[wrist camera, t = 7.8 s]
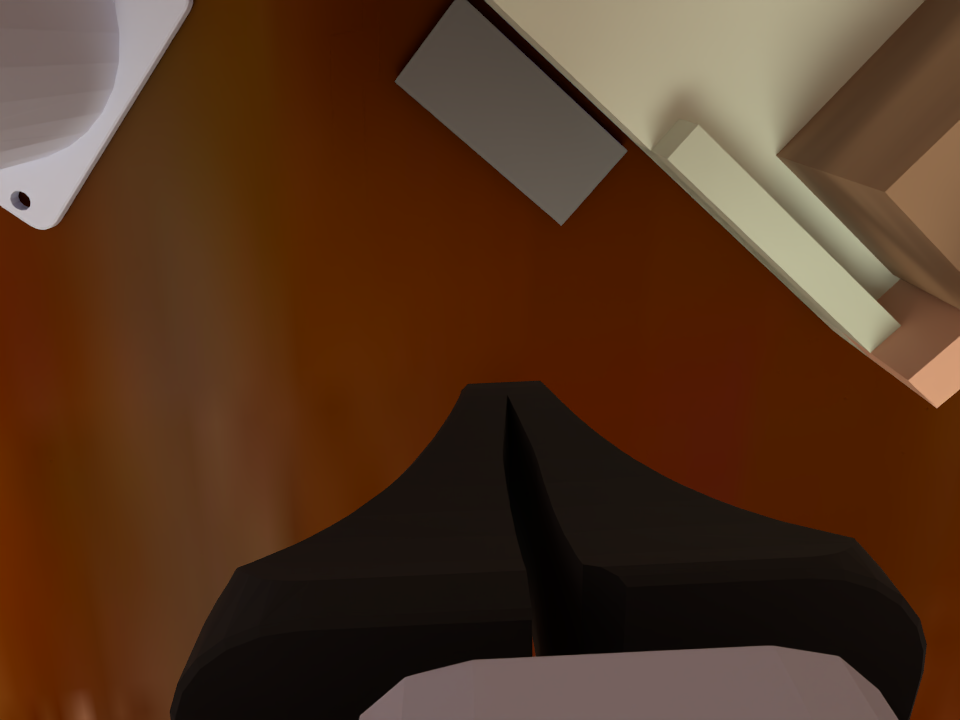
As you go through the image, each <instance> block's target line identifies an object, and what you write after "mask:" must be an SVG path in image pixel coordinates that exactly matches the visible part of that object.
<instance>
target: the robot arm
mask: <svg viewBox="0 0 960 720" xmlns="http://www.w3.org/2000/svg"><path fill="white" fill-rule="evenodd" d="M192 5H193V0H0V206H2V207H3V208H5V209H6V210H8V211H9V212H10V213H12V214H13V215H15V216H16V217H18V218H19V219H21V220H22V221H24V222H25V223H27V224H28V225H30V226H32V227H34V228H36V229H42V230H45V229H48V228H51V227H54V226H56V225H57V224H58V223H59V222H60V221H61V220H62V218H63V217H64V215H65V213H66V212H67V210H68V209H69V207H70V205H71V204H72V202H73V200H74V199H75V197H76V196H77V194H78V192H79V191H80V189H81V187H82V186H83V184H84V183H85V181H86V179H87V178H88V176H89V174H90V173H91V171H92V170H93V168H94V166H95V165H96V163H97V161H98V160H99V158H100V157H101V155H102V153H103V152H104V150H105V148H106V147H107V145H108V144H109V142H110V140H111V139H112V137H113V135H114V134H115V132H116V131H117V129H118V127H119V126H120V124H121V123H122V121H123V119H124V118H125V116H126V114H127V113H128V111H129V110H130V108H131V106H132V105H133V103H134V101H135V100H136V98H137V97H138V95H139V93H140V92H141V90H142V88H143V87H144V85H145V84H146V82H147V80H148V79H149V77H150V75H151V74H152V72H153V71H154V69H155V67H156V66H157V64H158V62H159V61H160V59H161V58H162V56H163V54H164V53H165V51H166V49H167V48H168V46H169V45H170V43H171V41H172V40H173V38H174V36H175V35H176V33H177V32H178V30H179V28H180V27H181V25H182V23H183V22H184V20H185V19H186V17H187V15H188V14H189V12H190V10H191V8H192ZM20 191H21V192H23V193H25V194H26V195H27V196H28V197H29V199H30V202H31V204H30V207H27V206H24V205H23V204H22V203H21V202H20V200H19V197H18V195H19V192H20ZM532 637H533V642H534V647H535V653H536V657H532ZM926 645H927V644H926V640H925V637H924V633H923V629H922V625H921V621H920V618H919V617H918V616H917V614H916V613H915V612H914V610H913V609H912V608H911V606H910V605H909V604H908V602H907V601H906V600H905V598H904V597H903V596H902V595H901V593H900V592H899V591H898V589H897V588H896V587H895V586H894V584H893V583H892V582H891V580H890V579H889V578H888V577H887V575H886V574H885V573H884V571H883V570H882V569H881V568H880V567H879V565H878V564H877V563H876V562H875V561H874V560H873V559H872V558H871V556H870V555H869V554H868V553H867V552H866V551H865V550H864V548H863V547H862V546H861V545H860V544H859V543H858V542H857V541H856V540H855V539H854V538H850V537H846V536H842V535H837V534H833V533H829V532H825V531H820V530H816V529H812V528H807V527H803V526H799V525H795V524H790V523H786V522H782V521H779V520H775V519H772V518H769V517H766V516H762V515H759V514H756V513H753V512H750V511H747V510H744V509H740V508H737V507H735V506H732V505H729V504H727V503H724V502H721V501H719V500H716V499H713V498H711V497H709V496H706V495H704V494H702V493H699V492H697V491H695V490H692V489H690V488H688V487H686V486H683V485H681V484H679V483H677V482H675V481H673V480H671V479H669V478H667V477H665V476H663V475H661V474H659V473H658V472H656V471H654V470H652V469H651V468H649V467H647V466H645V465H644V464H642V463H640V462H638V461H636V460H635V459H633V458H632V457H630V456H629V455H627V454H625V453H624V452H622V451H621V450H620V449H618V448H617V447H615V446H614V445H613V444H611V443H610V442H609V441H607V440H606V439H604V438H603V437H602V436H600V435H599V434H598V433H596V432H595V431H594V430H593V429H591V428H590V427H589V426H588V425H587V424H585V423H584V422H583V421H582V420H581V419H580V418H578V417H577V416H576V415H575V414H574V413H573V412H572V411H571V410H570V409H569V408H568V407H567V406H565V405H564V404H563V403H562V402H561V401H560V400H559V399H558V398H557V397H556V396H555V395H554V394H553V393H552V392H551V391H550V390H549V389H548V388H547V387H546V386H545V385H544V384H543V383H542V382H541V381H525V382H503V383H480V384H468V385H467V386H466V387H465V388H464V389H463V390H462V391H461V394H460V396H459V399H458V401H457V403H456V404H455V406H454V408H453V410H452V411H451V413H450V415H449V416H448V418H447V419H446V421H445V422H444V424H443V425H442V427H441V428H440V430H439V431H438V433H437V434H436V436H435V437H434V438H433V440H432V441H431V442H430V443H429V444H428V446H427V447H426V448H425V449H424V450H423V452H422V453H421V454H420V455H419V456H418V458H417V459H416V460H415V461H414V462H413V463H412V465H411V466H410V467H409V468H408V469H407V470H406V471H405V472H404V473H403V474H402V475H401V476H400V477H399V478H398V479H397V480H396V481H394V482H393V483H392V484H391V485H390V486H389V487H388V488H386V489H385V490H384V491H382V492H381V493H380V494H378V495H377V496H376V497H374V498H373V499H371V500H370V501H369V502H367V503H366V504H364V505H363V506H362V507H360V508H359V509H357V510H356V511H355V512H353V513H352V514H350V515H349V516H347V517H345V518H344V519H342V520H340V521H339V522H337V523H335V524H333V525H332V526H330V527H328V528H326V529H325V530H323V531H321V532H319V533H317V534H315V535H313V536H311V537H309V538H307V539H305V540H303V541H301V542H299V543H297V544H295V545H293V546H290V547H288V548H285V549H283V550H281V551H278V552H276V553H273V554H271V555H269V556H266V557H264V558H261V559H259V560H257V561H254V562H252V563H249V564H246V565H244V566H241V567H238V568H237V569H236V570H235V572H234V574H233V576H232V577H231V579H230V581H229V583H228V584H227V586H226V588H225V589H224V591H223V592H222V594H221V595H220V597H219V598H218V600H217V602H216V603H215V605H214V607H213V609H212V611H211V612H210V614H209V616H208V618H207V620H206V622H205V623H204V626H203V628H202V630H201V632H200V634H199V637H198V639H197V641H196V643H195V646H194V648H193V650H192V652H191V655H190V657H189V659H188V661H187V664H186V666H185V668H184V670H183V673H182V675H181V677H180V679H179V682H178V684H177V687H176V691H175V695H174V698H173V702H172V705H171V709H170V717H171V720H909V719H910V716H911V713H912V709H913V706H914V702H915V699H916V695H917V692H918V689H919V685H920V682H921V678H922V675H923V671H924V663H925V654H926Z"/></svg>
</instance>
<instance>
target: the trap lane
mask: <svg viewBox="0 0 960 720" xmlns="http://www.w3.org/2000/svg"><path fill="white" fill-rule="evenodd" d="M484 1H485V2H486V3H487V4H488V5H489V6H490V7H492V8H493V9H494V10H495V11H496V12H497V13H498V14H499V15H500V16H501V17H502V18H503V19H504V20H505V21H506V22H507V23H508V24H509V25H511V26H512V27H513V28H514V29H515V30H516V31H517V32H518V33H519V34H520V35H521V36H522V37H523V38H524V39H525V40H526V41H527V42H529V43H530V44H531V45H532V46H533V47H534V48H535V49H536V50H537V51H538V52H539V53H540V54H541V55H542V56H543V57H544V58H545V59H547V60H548V61H549V62H550V63H551V64H552V65H553V66H554V67H555V68H556V69H557V70H558V71H559V72H560V73H561V74H562V75H563V76H564V77H566V78H567V79H568V80H569V81H570V82H571V83H572V84H573V85H574V86H575V87H576V88H577V89H578V90H579V91H580V92H581V93H582V94H584V95H585V96H586V97H587V98H588V99H589V100H590V101H591V102H592V103H593V104H594V105H595V106H596V107H597V108H598V109H599V110H600V111H602V112H603V113H604V114H605V115H606V116H607V117H608V118H609V119H610V120H611V121H612V122H613V123H614V124H615V125H616V126H617V127H618V128H619V129H621V130H622V131H623V132H624V133H625V134H626V135H627V136H628V137H629V138H630V139H631V140H632V141H633V142H634V143H635V144H636V145H637V146H639V147H640V148H641V149H642V150H643V151H644V152H645V153H646V154H647V155H648V156H649V157H650V158H651V159H652V160H653V161H654V162H655V163H657V164H658V165H659V166H660V167H661V168H662V169H663V170H664V171H665V172H666V173H667V174H668V175H669V176H670V177H671V178H672V179H673V180H674V181H676V182H677V183H678V184H679V185H680V186H681V187H682V188H683V189H684V190H685V191H686V192H687V193H688V194H689V195H690V196H691V197H692V198H694V199H695V200H696V201H697V202H698V203H699V204H700V205H701V206H702V207H703V208H704V209H705V210H706V211H707V212H708V213H709V214H710V215H712V216H713V217H714V218H715V219H716V220H717V221H718V222H719V223H720V224H721V225H722V226H723V227H724V228H725V229H726V230H727V231H728V232H729V233H731V234H732V235H733V236H734V237H735V238H736V239H737V240H738V241H739V242H740V243H741V244H742V245H743V246H744V247H745V248H746V249H747V250H749V251H750V252H751V253H752V254H753V255H754V256H755V257H756V258H757V259H758V260H759V261H760V262H761V263H762V264H763V265H764V266H765V267H767V268H768V269H769V270H770V271H771V272H772V273H773V274H774V275H775V276H776V277H777V278H778V279H779V280H780V281H781V282H782V283H783V284H784V285H786V286H787V287H788V288H789V289H790V290H791V291H792V292H793V293H794V294H795V295H796V296H797V297H798V298H799V299H800V300H801V301H802V302H804V303H805V304H806V305H807V306H808V307H809V308H810V309H811V310H812V311H813V312H814V313H815V314H816V315H817V316H818V317H819V318H820V319H822V320H823V321H824V322H825V323H826V324H827V325H828V326H829V327H830V328H831V329H832V330H833V331H834V332H836V333H837V334H838V335H840V336H841V337H842V338H844V339H845V340H846V341H848V342H849V343H850V344H852V345H853V346H854V347H856V348H857V349H858V350H860V351H861V352H862V353H864V354H865V355H866V356H868V357H869V358H870V359H872V360H873V361H874V362H876V363H877V364H878V365H880V366H881V367H882V368H884V369H885V370H886V371H888V372H889V373H890V374H892V375H893V376H894V377H896V378H897V379H898V380H900V381H901V382H902V383H904V384H905V385H907V386H908V387H909V388H911V389H912V390H913V391H915V392H916V393H917V394H919V395H920V396H921V397H923V398H924V399H925V400H927V401H928V402H929V403H931V404H932V405H933V406H935V407H936V408H938V407H939V406H940V405H941V404H942V403H944V402H945V401H946V400H947V399H948V398H950V397H951V396H952V395H953V394H954V393H956V392H957V391H958V390H959V389H960V309H958V308H956V307H954V306H952V305H950V304H948V303H946V302H944V301H942V300H940V299H938V298H937V297H935V296H933V295H931V294H929V293H927V292H925V291H923V290H921V289H919V288H917V287H915V286H913V285H911V284H910V283H908V282H906V281H904V280H902V279H900V278H898V277H896V276H894V275H893V274H892V273H891V272H890V271H889V270H888V269H887V268H886V267H885V266H884V265H883V264H882V263H881V262H880V261H879V260H878V259H877V258H876V257H875V256H874V255H873V254H872V253H871V252H870V251H869V250H868V249H867V248H866V247H865V246H864V245H863V244H862V243H861V242H860V241H859V240H858V238H857V237H856V236H855V235H854V234H853V233H852V232H851V231H850V230H849V229H848V228H847V227H846V226H845V225H844V224H843V223H842V222H841V221H840V220H839V219H838V218H837V217H836V216H835V215H834V214H833V213H832V212H831V211H830V210H829V209H828V208H827V207H826V206H825V205H824V204H823V203H822V202H821V201H820V200H819V199H818V198H817V197H816V196H815V195H814V194H813V193H812V192H811V191H810V190H809V189H808V188H807V187H806V186H805V185H804V184H803V183H802V181H801V180H800V179H799V178H798V177H797V176H796V175H795V174H794V173H793V172H792V171H791V170H790V169H789V168H788V167H787V166H786V165H785V164H784V163H783V162H782V161H781V160H780V159H779V158H778V157H777V156H776V155H777V154H778V153H779V152H780V151H781V150H782V149H783V148H784V147H785V146H786V144H787V143H788V142H789V141H790V140H791V139H792V138H793V137H794V136H795V135H796V134H797V133H798V132H799V131H800V130H801V129H802V128H803V127H804V126H805V125H806V124H807V123H808V122H809V121H810V120H811V118H812V117H813V116H814V115H815V114H816V113H817V112H818V111H819V110H820V109H821V108H822V107H823V106H824V105H825V104H826V103H827V102H828V101H829V100H830V99H831V98H832V97H833V96H834V95H835V94H836V92H837V91H838V90H839V89H840V88H841V87H842V86H843V85H844V84H845V83H846V82H847V81H848V80H849V79H850V78H851V77H852V76H853V75H854V74H855V73H856V72H857V71H858V70H859V69H860V68H861V67H862V65H863V64H864V63H865V62H866V61H867V60H868V59H869V58H870V57H871V56H872V55H873V54H874V53H875V52H876V51H877V50H878V49H879V48H880V47H881V46H882V45H883V44H884V43H885V42H886V41H887V39H888V38H889V37H890V36H891V35H892V34H893V33H894V32H895V31H896V30H897V29H898V28H899V27H900V26H901V25H902V24H903V23H904V22H905V21H906V20H907V19H908V18H909V17H910V16H911V15H912V13H913V12H914V11H915V10H916V9H917V8H918V7H919V6H920V5H921V4H922V3H923V2H924V1H925V0H484Z"/></svg>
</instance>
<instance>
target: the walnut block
mask: <svg viewBox="0 0 960 720" xmlns="http://www.w3.org/2000/svg"><path fill="white" fill-rule="evenodd" d="M776 156H777V157H778V158H779V159H780V160H781V161H782V162H783V163H784V164H785V165H786V166H787V167H788V168H789V169H790V170H791V171H792V172H793V173H794V174H795V175H796V176H797V177H798V178H799V179H800V180H801V181H802V183H803V184H804V185H805V186H806V187H807V188H808V189H809V190H810V191H811V192H812V193H813V194H814V195H815V196H816V197H817V198H818V199H819V200H820V201H821V202H822V203H823V204H824V205H825V206H826V207H827V208H828V209H829V210H830V211H831V212H832V213H833V214H834V215H835V216H836V217H837V218H838V219H839V220H840V221H841V222H842V223H843V224H844V225H845V226H846V227H847V228H848V229H849V230H850V231H851V232H852V233H853V234H854V235H855V236H856V237H857V238H858V240H859V241H860V242H861V243H862V244H863V245H864V246H865V247H866V248H867V249H868V250H869V251H870V252H871V253H872V254H873V255H874V256H875V257H876V258H877V259H878V260H879V261H880V262H881V263H882V264H883V265H884V266H885V267H886V268H887V269H888V270H889V271H890V272H891V273H892V274H893V275H894V276H896V277H898V278H900V279H902V280H904V281H906V282H908V283H910V284H911V285H913V286H915V287H917V288H919V289H921V290H923V291H925V292H927V293H929V294H931V295H933V296H935V297H937V298H938V299H940V300H942V301H944V302H946V303H948V304H950V305H952V306H954V307H956V308H958V309H960V0H925V1H924V2H923V3H922V4H921V5H920V6H919V7H918V8H917V9H916V10H915V11H914V12H913V13H912V15H911V16H910V17H909V18H908V19H907V20H906V21H905V22H904V23H903V24H902V25H901V26H900V27H899V28H898V29H897V30H896V31H895V32H894V33H893V34H892V35H891V36H890V37H889V38H888V39H887V41H886V42H885V43H884V44H883V45H882V46H881V47H880V48H879V49H878V50H877V51H876V52H875V53H874V54H873V55H872V56H871V57H870V58H869V59H868V60H867V61H866V62H865V63H864V64H863V65H862V67H861V68H860V69H859V70H858V71H857V72H856V73H855V74H854V75H853V76H852V77H851V78H850V79H849V80H848V81H847V82H846V83H845V84H844V85H843V86H842V87H841V88H840V89H839V90H838V91H837V92H836V94H835V95H834V96H833V97H832V98H831V99H830V100H829V101H828V102H827V103H826V104H825V105H824V106H823V107H822V108H821V109H820V110H819V111H818V112H817V113H816V114H815V115H814V116H813V117H812V118H811V120H810V121H809V122H808V123H807V124H806V125H805V126H804V127H803V128H802V129H801V130H800V131H799V132H798V133H797V134H796V135H795V136H794V137H793V138H792V139H791V140H790V141H789V142H788V143H787V144H786V146H785V147H784V148H783V149H782V150H781V151H780V152H779V153H778V154H777V155H776Z"/></svg>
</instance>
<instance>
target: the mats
mask: <svg viewBox="0 0 960 720" xmlns="http://www.w3.org/2000/svg"><path fill="white" fill-rule="evenodd" d="M395 83H397V84H398V85H399V86H400V87H401V88H402V89H404V90H405V91H406V92H407V93H408V94H409V95H411V96H412V97H413V98H414V99H415V100H416V101H418V102H419V103H420V104H421V105H422V106H423V107H424V108H426V109H427V110H428V111H429V112H430V113H431V114H433V115H434V116H435V117H436V118H437V119H438V120H440V121H441V122H442V123H443V124H444V125H445V126H446V127H448V128H449V129H450V130H451V131H452V132H453V133H455V134H456V135H457V136H458V137H459V138H460V139H462V140H463V141H464V142H465V143H466V144H467V145H469V146H470V147H471V148H472V149H473V150H474V151H475V152H477V153H478V154H479V155H480V156H481V157H482V158H484V159H485V160H486V161H487V162H488V163H489V164H491V165H492V166H493V167H494V168H495V169H496V170H498V171H499V172H500V173H501V174H502V175H503V176H504V177H506V178H507V179H508V180H509V181H510V182H511V183H513V184H514V185H515V186H516V187H517V188H518V189H520V190H521V191H522V192H523V193H524V194H525V195H526V196H528V197H529V198H530V199H531V200H532V201H533V202H535V203H536V204H537V205H538V206H539V207H540V208H542V209H543V210H544V211H545V212H546V213H547V214H549V215H550V216H551V217H552V218H553V219H554V220H555V221H557V222H558V223H559V224H560V225H561V226H562V224H563V223H564V222H565V221H566V220H567V219H568V218H569V216H570V215H571V214H572V213H573V212H574V211H575V210H576V209H577V207H578V206H579V205H580V204H581V203H582V202H583V201H584V200H585V198H586V197H587V196H588V195H589V194H590V193H591V192H592V190H593V189H594V188H595V187H596V186H597V185H598V184H599V183H600V181H601V180H602V179H603V178H604V177H605V176H606V175H607V174H608V172H609V171H610V170H611V169H612V168H613V167H614V166H615V165H616V163H617V162H618V161H619V160H620V159H621V158H622V157H623V155H624V154H625V153H626V152H627V150H626V149H625V148H624V147H623V146H622V145H621V144H620V143H618V142H617V141H616V140H615V139H614V138H613V137H612V136H611V135H610V134H609V133H608V132H607V131H606V130H605V129H604V128H602V127H601V126H600V125H599V124H598V123H597V122H596V121H595V120H594V119H593V118H592V117H591V116H590V115H589V114H588V113H586V112H585V111H584V110H583V109H582V108H581V107H580V106H579V105H578V104H577V103H576V102H575V101H574V100H573V99H572V98H570V97H569V96H568V95H567V94H566V93H565V92H564V91H563V90H562V89H561V88H560V87H559V86H558V85H557V84H556V83H554V82H553V81H552V80H551V79H550V78H549V77H548V76H547V75H546V74H545V73H544V72H543V71H542V70H541V69H540V68H538V67H537V66H536V65H535V64H534V63H533V62H532V61H531V60H530V59H529V58H528V57H527V56H526V55H525V54H524V53H522V52H521V51H520V50H519V49H518V48H517V47H516V46H515V45H514V44H513V43H512V42H511V41H510V40H509V39H508V38H506V37H505V36H504V35H503V34H502V33H501V32H500V31H499V30H498V29H497V28H496V27H495V26H494V25H493V24H492V23H490V22H489V21H488V20H487V19H486V18H485V17H484V16H483V15H482V14H481V13H480V12H479V11H478V10H477V9H475V8H474V7H473V6H472V5H471V4H470V3H469V2H468V1H467V0H454V2H453V3H452V4H451V6H450V7H449V8H448V10H447V11H446V13H445V14H444V15H443V17H442V18H441V19H440V21H439V22H438V23H437V25H436V26H435V27H434V29H433V30H432V31H431V33H430V34H429V36H428V37H427V38H426V40H425V41H424V42H423V44H422V45H421V46H420V48H419V49H418V50H417V52H416V53H415V54H414V56H413V57H412V59H411V60H410V61H409V63H408V64H407V65H406V67H405V68H404V69H403V71H402V72H401V73H400V75H399V76H398V77H397V79H396V80H395Z"/></svg>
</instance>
